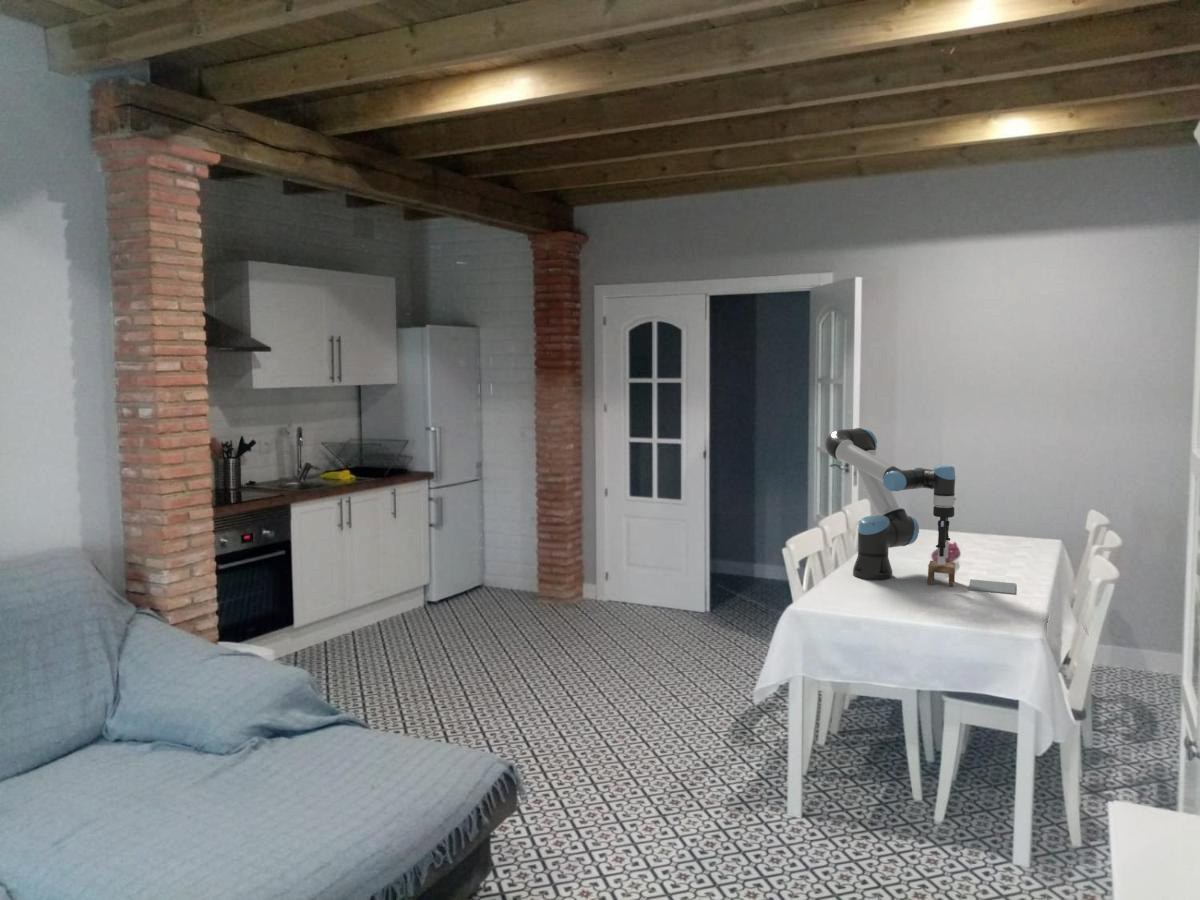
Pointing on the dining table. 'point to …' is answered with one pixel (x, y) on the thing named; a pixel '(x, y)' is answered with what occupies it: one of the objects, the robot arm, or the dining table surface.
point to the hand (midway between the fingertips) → (942, 561)
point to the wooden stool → (941, 571)
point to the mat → (992, 586)
